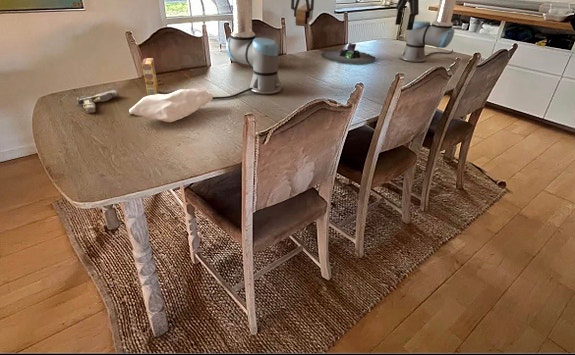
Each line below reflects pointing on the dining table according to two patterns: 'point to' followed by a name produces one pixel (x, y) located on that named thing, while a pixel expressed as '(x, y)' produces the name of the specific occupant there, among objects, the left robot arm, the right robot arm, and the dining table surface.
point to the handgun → (95, 100)
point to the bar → (303, 15)
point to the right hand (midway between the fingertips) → (403, 27)
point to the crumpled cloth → (171, 104)
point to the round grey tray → (348, 55)
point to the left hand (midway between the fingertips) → (301, 23)
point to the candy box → (150, 76)
